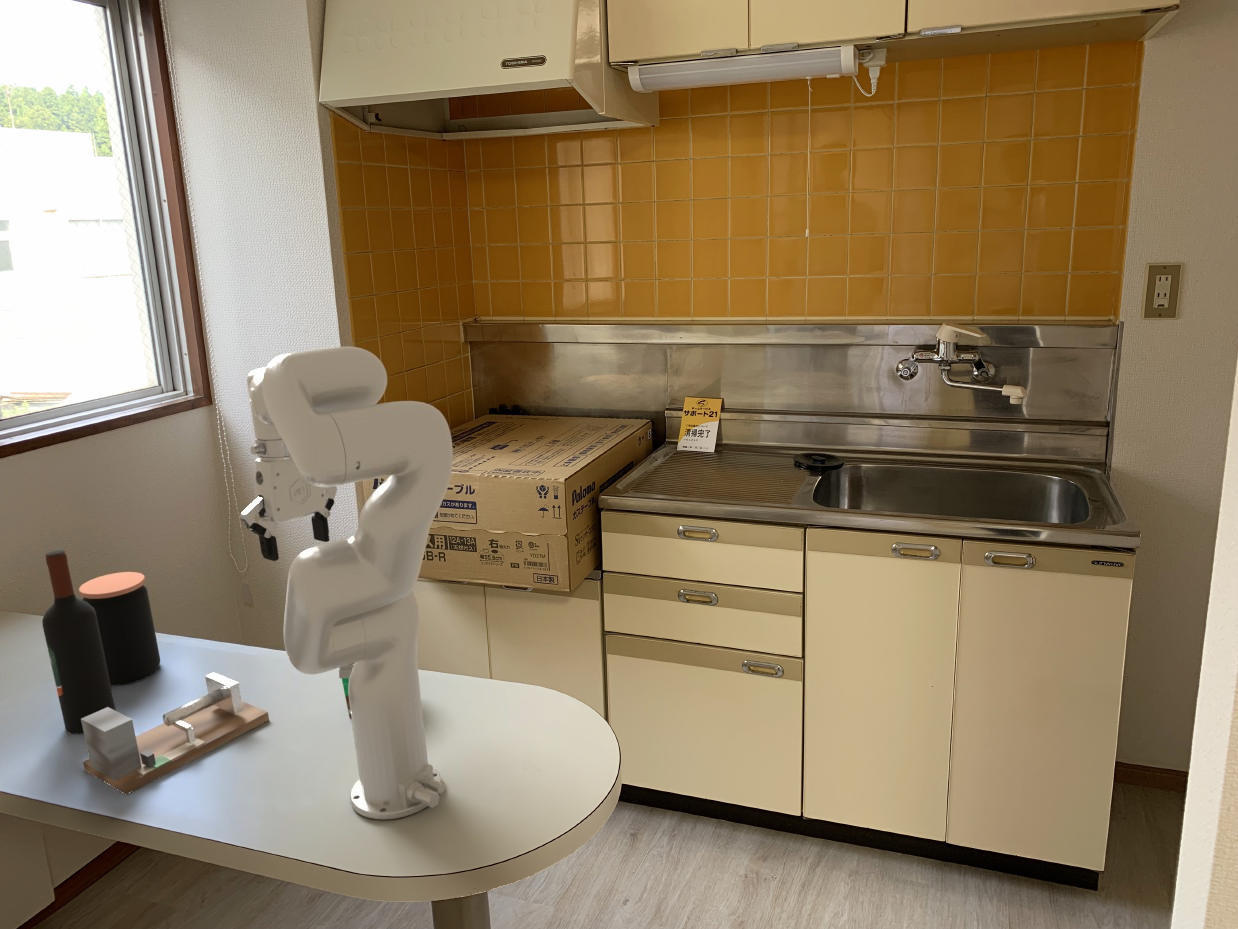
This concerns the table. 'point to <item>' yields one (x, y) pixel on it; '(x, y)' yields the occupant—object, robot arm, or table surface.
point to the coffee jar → (124, 625)
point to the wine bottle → (74, 649)
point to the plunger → (207, 703)
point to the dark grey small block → (148, 758)
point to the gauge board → (157, 743)
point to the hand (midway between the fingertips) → (297, 549)
